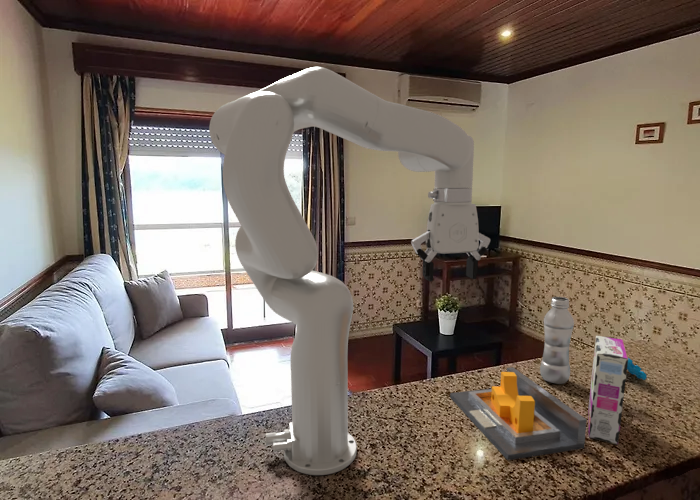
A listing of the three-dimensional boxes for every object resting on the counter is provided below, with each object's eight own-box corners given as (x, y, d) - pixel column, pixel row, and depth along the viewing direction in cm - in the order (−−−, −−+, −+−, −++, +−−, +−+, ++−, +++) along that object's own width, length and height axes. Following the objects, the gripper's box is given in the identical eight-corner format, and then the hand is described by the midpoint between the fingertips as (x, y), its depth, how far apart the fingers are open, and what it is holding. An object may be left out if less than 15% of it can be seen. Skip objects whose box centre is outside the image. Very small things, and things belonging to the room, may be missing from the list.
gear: (658, 381, 97) (626, 350, 97) (639, 399, 97) (607, 368, 97) (628, 367, 108) (600, 339, 108) (611, 383, 108) (583, 355, 108)
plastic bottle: (536, 382, 100) (542, 299, 97) (542, 372, 106) (547, 293, 102) (566, 390, 96) (573, 304, 93) (571, 379, 102) (578, 297, 99)
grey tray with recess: (507, 460, 72) (509, 430, 71) (450, 397, 93) (450, 373, 92) (584, 448, 75) (586, 419, 74) (511, 390, 96) (513, 367, 96)
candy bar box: (620, 446, 76) (629, 358, 73) (588, 438, 78) (595, 353, 76) (616, 416, 85) (624, 338, 83) (587, 410, 88) (594, 334, 85)
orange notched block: (491, 400, 90) (492, 371, 89) (512, 401, 89) (513, 372, 88) (508, 433, 78) (510, 400, 77) (532, 434, 77) (534, 401, 76)
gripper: (419, 198, 82) (417, 285, 85) (501, 197, 86) (496, 280, 88) (406, 197, 89) (405, 277, 92) (481, 196, 93) (478, 273, 96)
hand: (450, 278), depth 90 cm, fingers open, 9 cm apart
